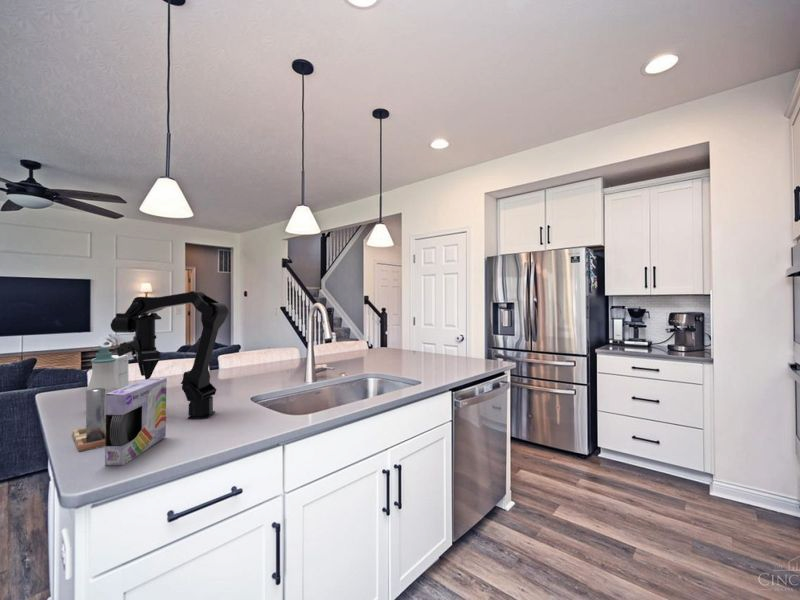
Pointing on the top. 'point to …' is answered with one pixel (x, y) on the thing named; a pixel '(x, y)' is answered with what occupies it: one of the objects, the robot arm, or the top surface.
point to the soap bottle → (104, 371)
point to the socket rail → (81, 438)
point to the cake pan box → (134, 419)
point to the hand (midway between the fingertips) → (145, 377)
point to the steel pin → (95, 414)
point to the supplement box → (121, 369)
